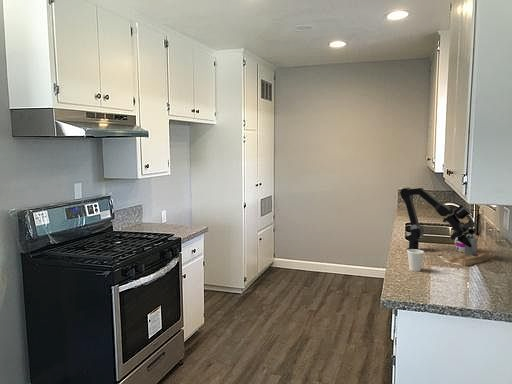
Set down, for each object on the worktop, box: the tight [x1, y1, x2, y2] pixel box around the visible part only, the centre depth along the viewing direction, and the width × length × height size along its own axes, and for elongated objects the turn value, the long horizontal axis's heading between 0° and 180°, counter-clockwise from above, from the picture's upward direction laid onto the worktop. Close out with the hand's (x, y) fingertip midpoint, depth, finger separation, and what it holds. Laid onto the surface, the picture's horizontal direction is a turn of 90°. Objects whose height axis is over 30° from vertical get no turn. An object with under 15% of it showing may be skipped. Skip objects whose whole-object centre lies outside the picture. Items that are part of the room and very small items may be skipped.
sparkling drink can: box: [455, 227, 472, 253], centre depth 264 cm, size 8×8×15 cm
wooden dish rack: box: [440, 252, 489, 267], centre depth 240 cm, size 14×24×5 cm, turn 125°
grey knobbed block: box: [463, 234, 478, 256], centre depth 243 cm, size 4×4×12 cm
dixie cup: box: [406, 249, 425, 272], centre depth 223 cm, size 8×8×10 cm
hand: (473, 246), depth 242 cm, fingers closed on grey knobbed block, 4 cm apart
